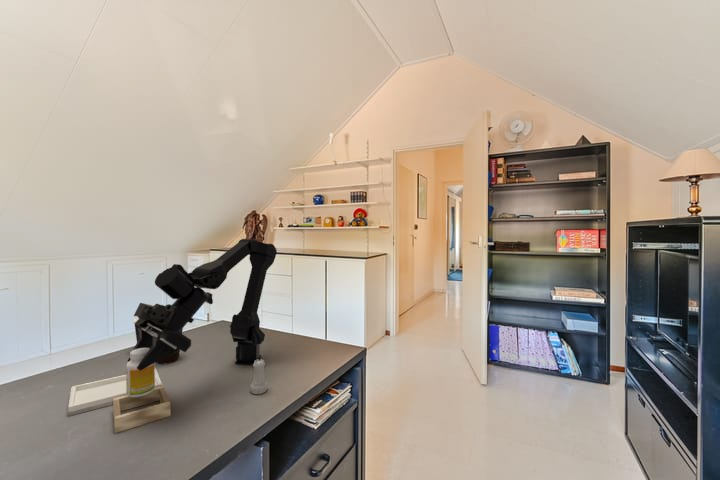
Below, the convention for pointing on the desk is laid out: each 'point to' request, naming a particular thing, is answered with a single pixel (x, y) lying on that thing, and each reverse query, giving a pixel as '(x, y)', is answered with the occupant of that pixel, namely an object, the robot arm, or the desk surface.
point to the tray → (99, 393)
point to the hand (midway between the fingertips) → (133, 365)
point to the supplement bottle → (139, 375)
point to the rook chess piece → (258, 378)
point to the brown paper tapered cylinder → (170, 356)
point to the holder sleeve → (140, 415)
